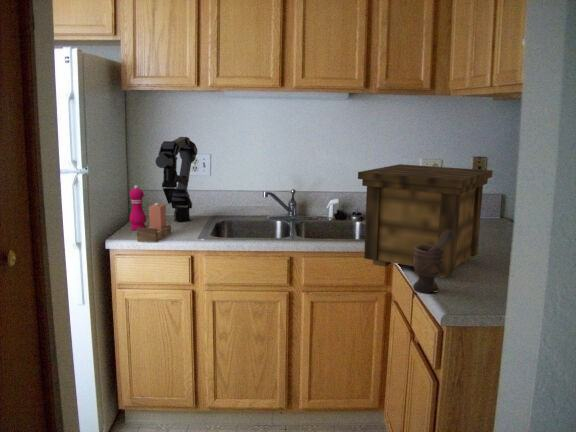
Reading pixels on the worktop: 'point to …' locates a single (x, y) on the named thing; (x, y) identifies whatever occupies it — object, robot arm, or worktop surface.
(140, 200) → the pepper mill
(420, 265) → the mortar and pestle
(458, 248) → the crate
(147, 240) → the brown wooden box
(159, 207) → the salmon orange block
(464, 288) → the worktop surface
